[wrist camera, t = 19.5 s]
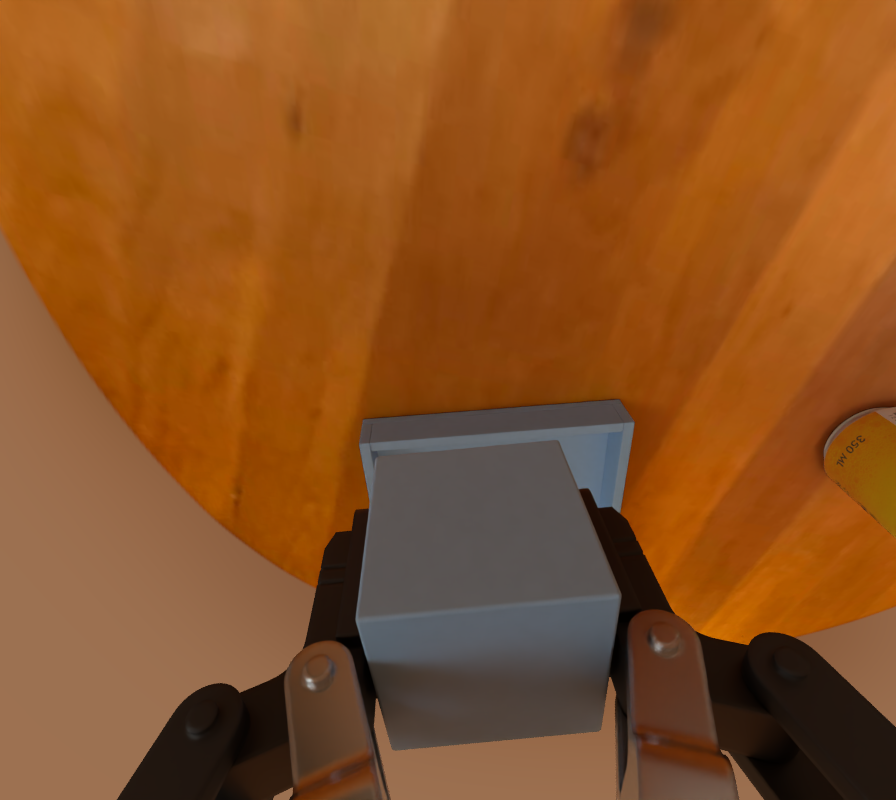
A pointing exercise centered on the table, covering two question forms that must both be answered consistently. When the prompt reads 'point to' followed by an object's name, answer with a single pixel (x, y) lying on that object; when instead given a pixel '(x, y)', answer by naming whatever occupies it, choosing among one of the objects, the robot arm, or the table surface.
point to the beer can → (866, 462)
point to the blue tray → (518, 439)
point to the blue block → (484, 597)
